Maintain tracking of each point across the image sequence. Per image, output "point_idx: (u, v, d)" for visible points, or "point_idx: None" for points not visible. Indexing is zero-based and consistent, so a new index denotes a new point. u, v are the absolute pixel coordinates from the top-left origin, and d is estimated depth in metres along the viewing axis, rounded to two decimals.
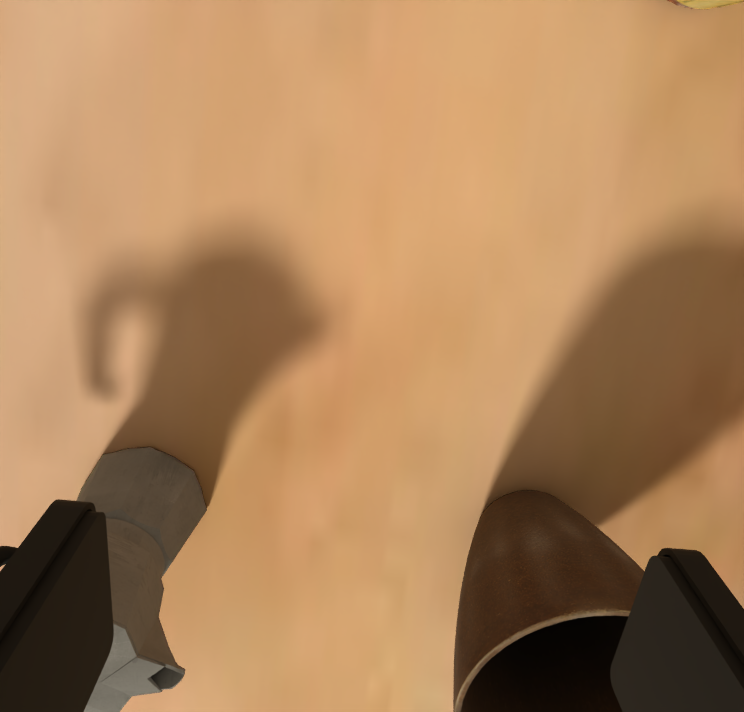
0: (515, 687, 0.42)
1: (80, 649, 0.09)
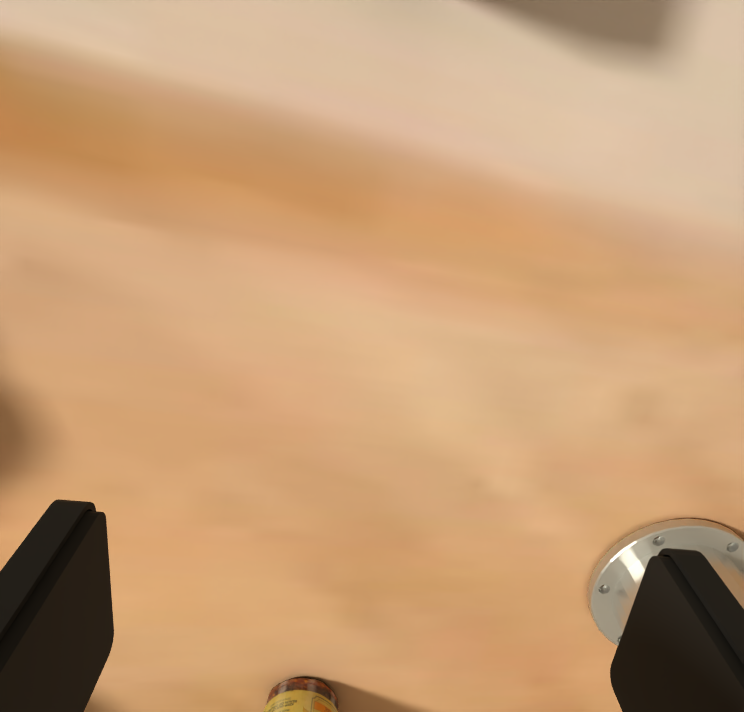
0: None
1: (80, 649, 0.09)
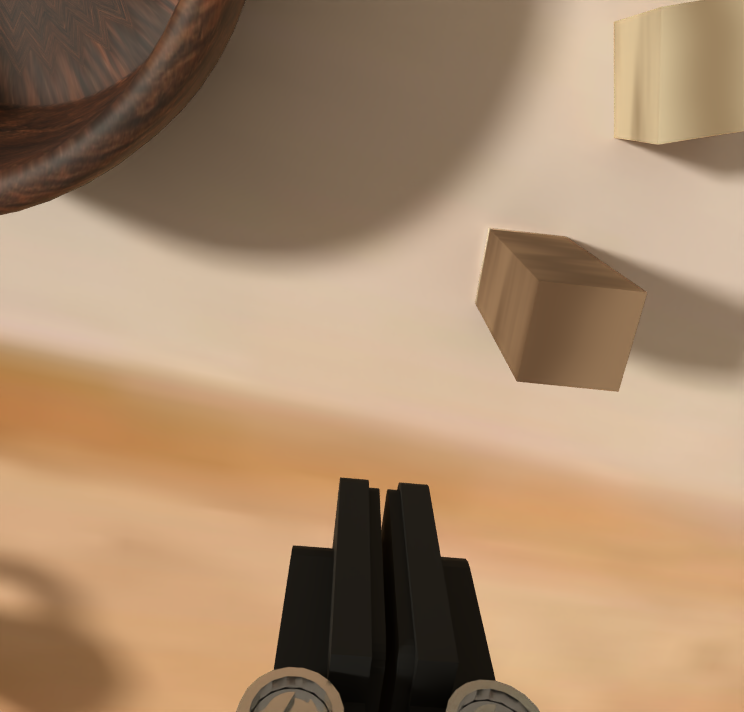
0: None
1: None
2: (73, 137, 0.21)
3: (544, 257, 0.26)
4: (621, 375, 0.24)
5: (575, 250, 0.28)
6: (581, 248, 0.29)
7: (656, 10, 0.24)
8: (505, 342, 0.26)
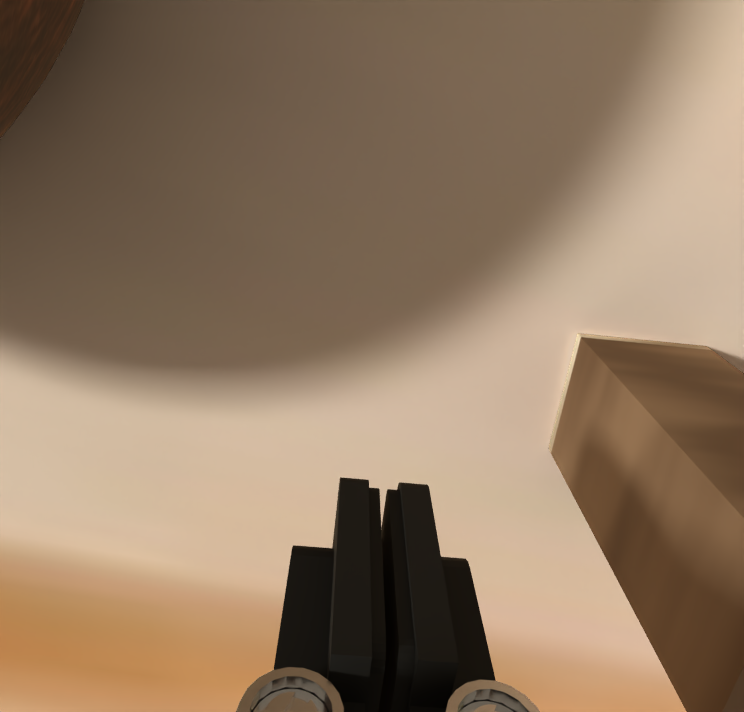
0: None
1: None
2: None
3: (724, 435, 0.13)
4: None
5: None
6: None
7: None
8: (650, 607, 0.13)
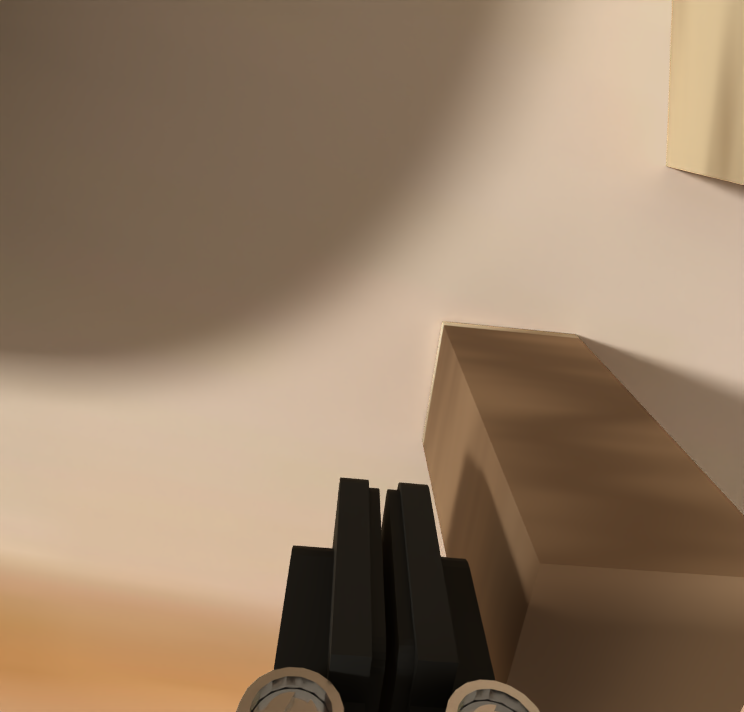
0: None
1: None
2: None
3: (545, 424, 0.13)
4: None
5: (600, 384, 0.15)
6: (609, 374, 0.16)
7: None
8: None
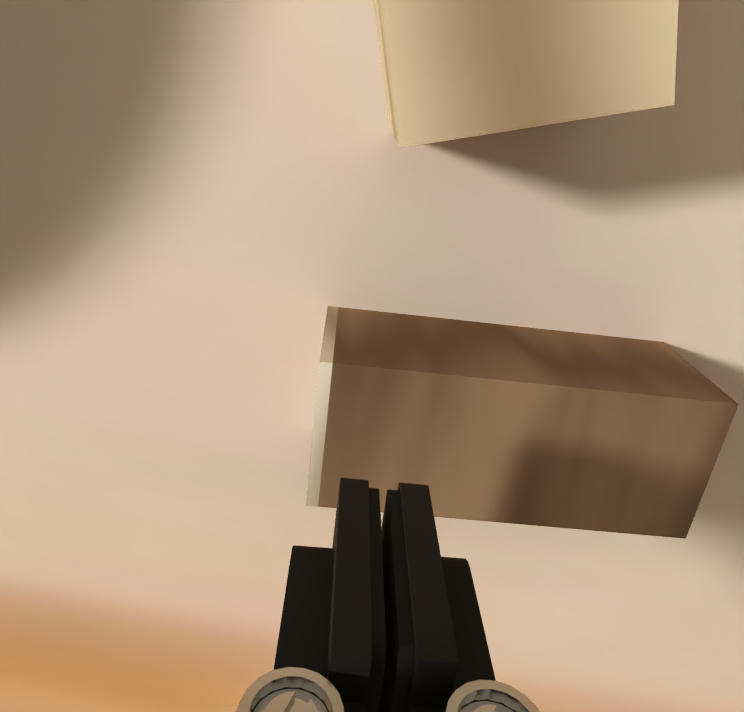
0: None
1: None
2: None
3: (549, 363, 0.16)
4: None
5: (450, 325, 0.18)
6: (423, 317, 0.18)
7: None
8: (593, 511, 0.16)
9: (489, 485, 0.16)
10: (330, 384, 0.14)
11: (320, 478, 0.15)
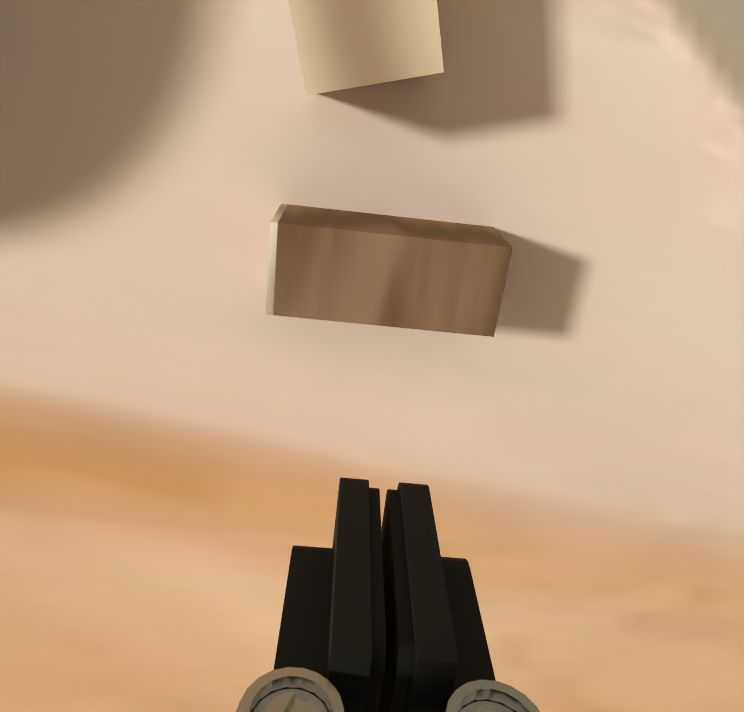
0: None
1: None
2: None
3: (408, 230, 0.27)
4: None
5: (356, 214, 0.28)
6: (340, 210, 0.29)
7: None
8: (436, 318, 0.27)
9: (373, 300, 0.27)
10: (277, 236, 0.25)
11: (273, 296, 0.26)
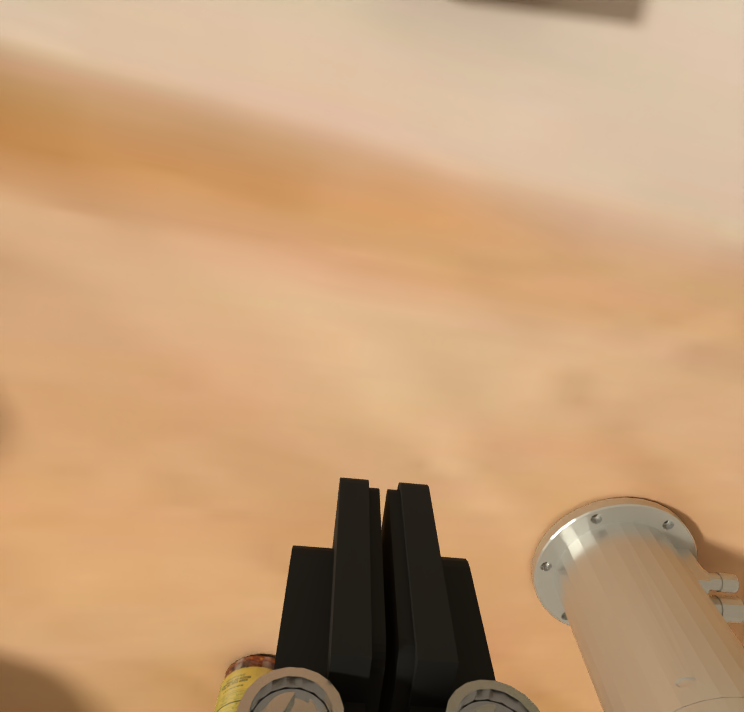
0: None
1: None
2: None
3: None
4: None
5: None
6: None
7: None
8: None
9: None
10: None
11: None
